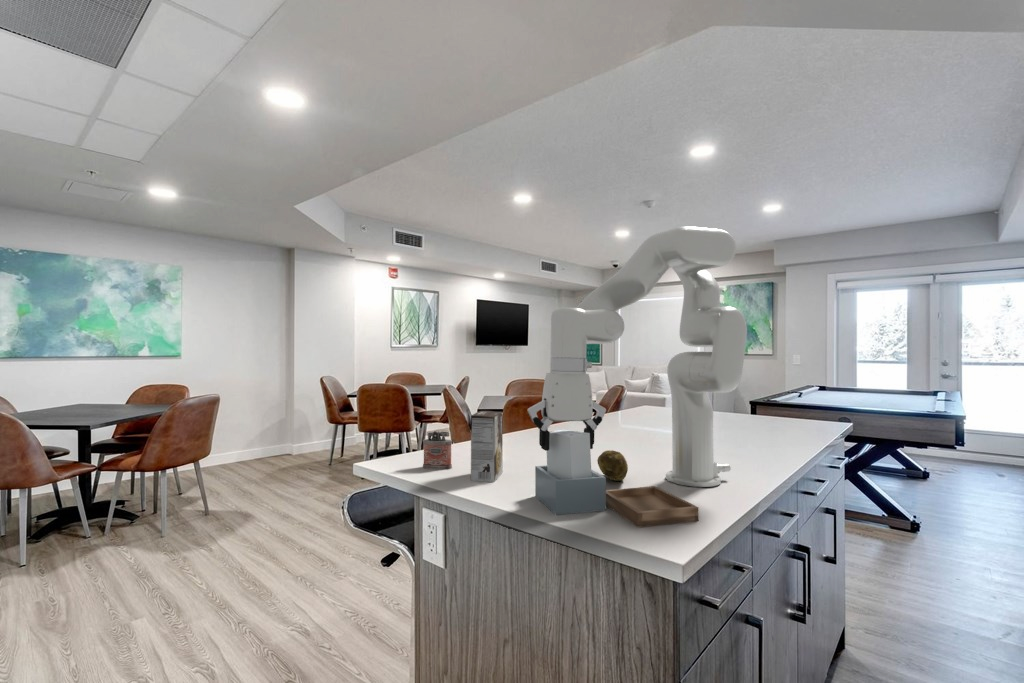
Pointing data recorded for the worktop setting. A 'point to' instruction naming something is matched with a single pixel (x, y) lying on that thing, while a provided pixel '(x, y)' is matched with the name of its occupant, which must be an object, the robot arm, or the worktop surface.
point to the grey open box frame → (570, 492)
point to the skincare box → (569, 454)
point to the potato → (613, 465)
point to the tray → (650, 506)
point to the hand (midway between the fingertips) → (566, 448)
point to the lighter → (437, 451)
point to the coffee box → (486, 446)
